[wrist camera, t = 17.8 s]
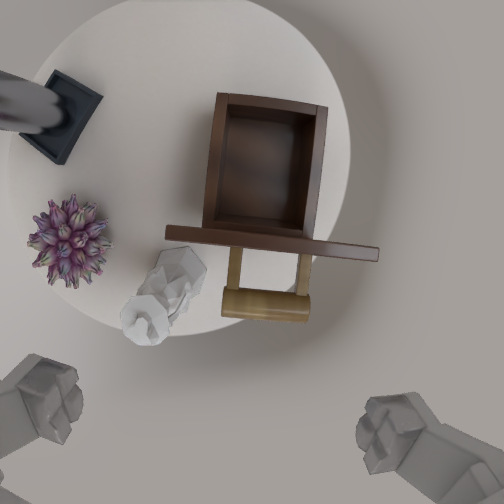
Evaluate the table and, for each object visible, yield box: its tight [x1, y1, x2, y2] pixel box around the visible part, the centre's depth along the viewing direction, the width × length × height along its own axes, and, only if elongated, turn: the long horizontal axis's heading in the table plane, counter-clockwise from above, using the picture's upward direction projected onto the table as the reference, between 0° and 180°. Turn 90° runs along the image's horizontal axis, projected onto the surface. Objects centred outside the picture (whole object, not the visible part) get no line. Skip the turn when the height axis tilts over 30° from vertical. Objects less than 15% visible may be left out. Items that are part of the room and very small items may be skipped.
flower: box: [27, 194, 114, 289], centre depth 33 cm, size 12×12×12 cm
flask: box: [0, 71, 77, 137], centre depth 24 cm, size 6×6×20 cm
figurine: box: [120, 247, 207, 346], centre depth 31 cm, size 7×8×18 cm
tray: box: [19, 70, 103, 165], centre depth 33 cm, size 11×10×2 cm
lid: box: [165, 225, 379, 323], centre depth 23 cm, size 15×11×5 cm
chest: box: [202, 92, 328, 239], centre depth 33 cm, size 14×11×8 cm
